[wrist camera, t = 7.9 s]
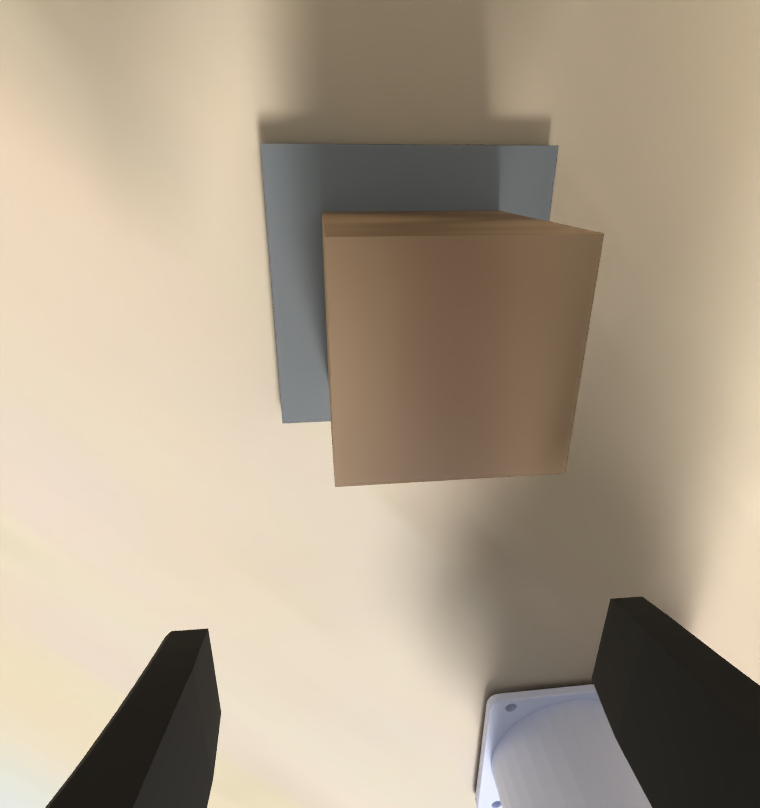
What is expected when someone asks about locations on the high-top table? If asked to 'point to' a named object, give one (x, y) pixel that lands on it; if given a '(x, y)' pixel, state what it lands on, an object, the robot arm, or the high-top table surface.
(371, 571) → the high-top table surface
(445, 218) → the walnut block
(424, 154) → the slate coaster
